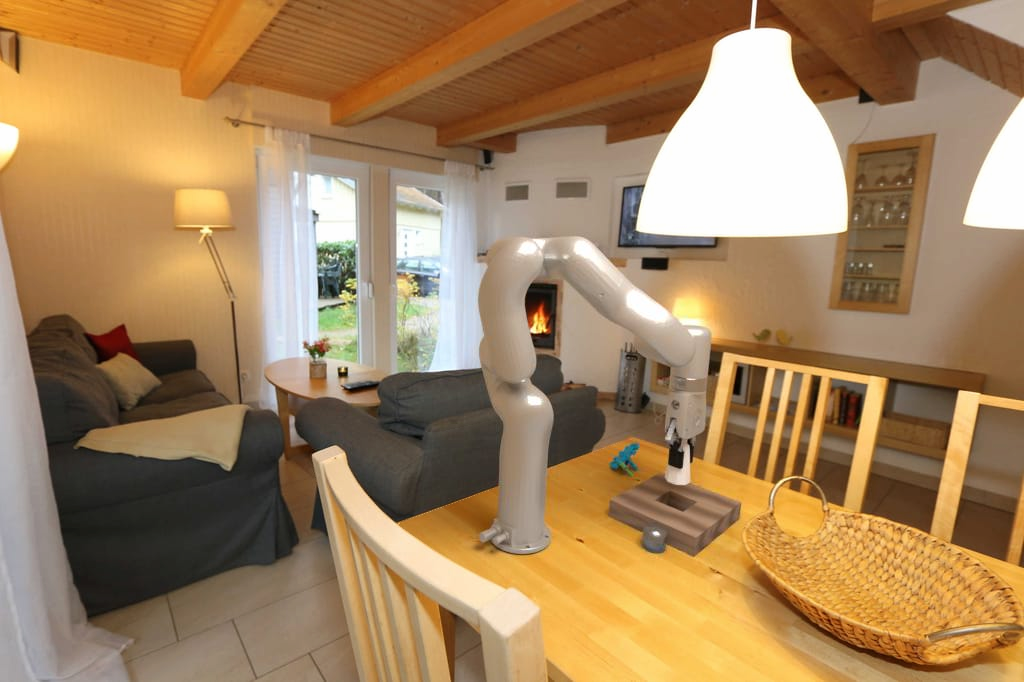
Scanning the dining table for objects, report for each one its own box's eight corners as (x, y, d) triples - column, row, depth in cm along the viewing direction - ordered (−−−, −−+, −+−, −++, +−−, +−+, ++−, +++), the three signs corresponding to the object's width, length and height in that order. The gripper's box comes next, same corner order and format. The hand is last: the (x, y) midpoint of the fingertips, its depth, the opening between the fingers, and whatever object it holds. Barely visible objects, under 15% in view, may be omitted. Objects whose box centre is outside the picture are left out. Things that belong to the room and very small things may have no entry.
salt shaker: (695, 483, 110) (700, 436, 108) (675, 487, 108) (679, 438, 106) (678, 473, 115) (683, 427, 113) (659, 476, 113) (663, 430, 111)
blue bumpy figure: (612, 453, 144) (638, 435, 139) (626, 468, 143) (653, 451, 139) (604, 472, 134) (632, 454, 129) (618, 489, 134) (647, 471, 129)
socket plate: (693, 556, 98) (695, 537, 97) (608, 516, 112) (609, 499, 111) (739, 518, 113) (741, 502, 112) (659, 487, 127) (660, 472, 126)
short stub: (658, 556, 97) (659, 537, 97) (637, 546, 101) (639, 528, 100) (669, 547, 100) (671, 529, 100) (649, 538, 104) (651, 520, 103)
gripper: (685, 393, 99) (677, 480, 102) (722, 380, 110) (713, 459, 113) (651, 385, 104) (645, 468, 107) (689, 374, 115) (682, 449, 118)
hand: (680, 463), depth 110 cm, fingers closed on salt shaker, 3 cm apart
